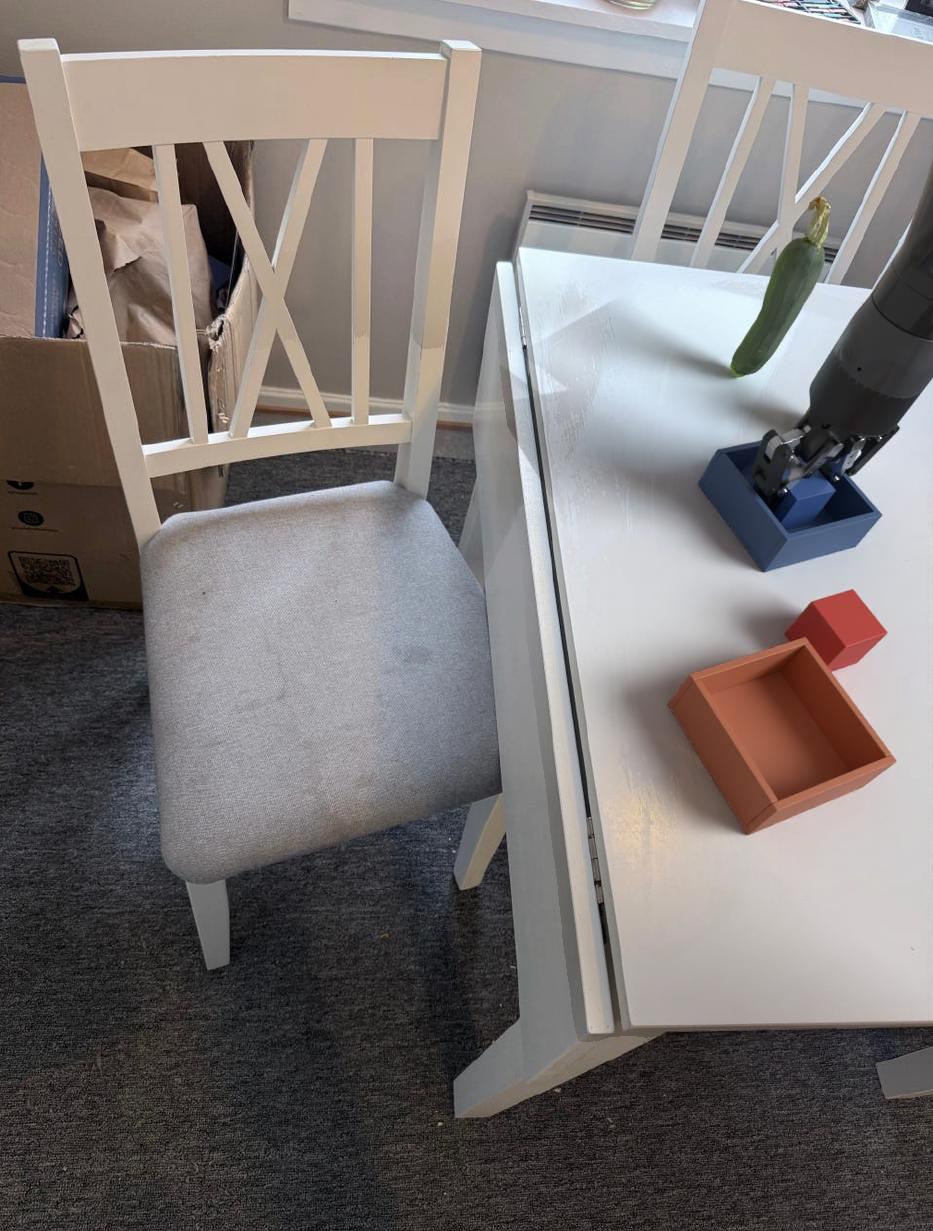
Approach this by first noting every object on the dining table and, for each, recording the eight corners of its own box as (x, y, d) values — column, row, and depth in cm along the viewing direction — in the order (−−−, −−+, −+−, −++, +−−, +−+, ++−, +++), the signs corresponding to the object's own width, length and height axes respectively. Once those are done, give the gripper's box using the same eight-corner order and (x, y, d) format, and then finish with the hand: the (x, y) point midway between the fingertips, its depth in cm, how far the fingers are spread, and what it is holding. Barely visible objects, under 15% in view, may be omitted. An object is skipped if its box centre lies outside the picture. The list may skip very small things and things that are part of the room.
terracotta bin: (863, 787, 64) (897, 761, 60) (747, 835, 60) (777, 811, 56) (778, 666, 69) (805, 636, 65) (667, 704, 65) (689, 673, 61)
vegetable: (764, 384, 92) (866, 207, 76) (744, 399, 89) (844, 221, 73) (732, 362, 93) (824, 184, 77) (711, 376, 91) (802, 196, 75)
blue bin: (856, 547, 79) (883, 514, 75) (763, 572, 75) (787, 540, 71) (787, 463, 84) (809, 430, 81) (697, 483, 80) (716, 449, 77)
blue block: (810, 524, 79) (836, 490, 75) (772, 534, 77) (797, 499, 74) (782, 489, 81) (805, 454, 77) (745, 498, 79) (767, 463, 76)
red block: (857, 663, 71) (888, 632, 67) (816, 677, 69) (845, 647, 65) (824, 620, 73) (853, 588, 69) (784, 633, 71) (811, 601, 68)
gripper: (843, 407, 61) (741, 555, 75) (978, 380, 66) (860, 524, 80) (784, 342, 65) (697, 495, 78) (916, 321, 70) (813, 468, 83)
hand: (780, 509), depth 79 cm, fingers closed on blue block, 4 cm apart
